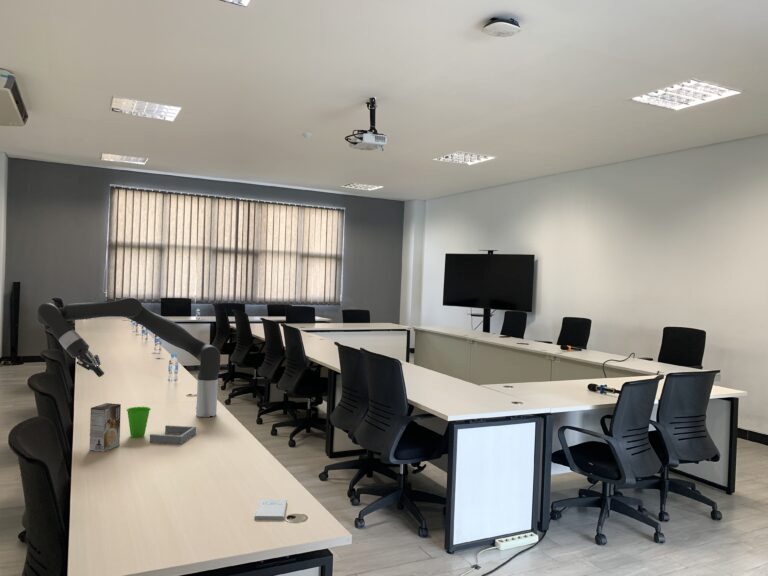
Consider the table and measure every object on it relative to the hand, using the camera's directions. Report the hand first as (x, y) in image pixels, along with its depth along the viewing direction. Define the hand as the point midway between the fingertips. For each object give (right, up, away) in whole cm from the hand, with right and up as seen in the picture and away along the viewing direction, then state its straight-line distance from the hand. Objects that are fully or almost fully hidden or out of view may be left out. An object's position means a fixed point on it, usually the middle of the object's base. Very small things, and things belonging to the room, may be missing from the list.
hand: (101, 375), depth 236 cm
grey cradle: (+29, -25, -1) cm, 38 cm away
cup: (+15, -25, 0) cm, 29 cm away
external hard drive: (+82, -29, -69) cm, 111 cm away
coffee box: (+10, -25, -18) cm, 32 cm away
